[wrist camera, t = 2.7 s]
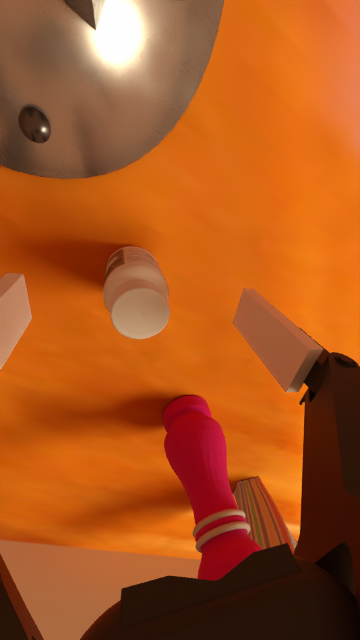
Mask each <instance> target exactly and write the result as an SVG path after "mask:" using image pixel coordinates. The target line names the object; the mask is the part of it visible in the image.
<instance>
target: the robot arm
mask: <svg viewBox="0 0 360 640" xmlns="http://www.w3.org/2000/svg"><path fill="white" fill-rule="evenodd" d="M31 319H32V315H31V310H30V305H29V299H28V294H27V289H26V283H25V278H24V274H16V273H6V274H5V275H4V276H3V277H2V278H1V279H0V370H1V368H2V367H3V365H4V364H5V362H6V360H7V359H8V357H9V355H10V354H11V352H12V350H13V349H14V347H15V346H16V344H17V342H18V341H19V339H20V337H21V336H22V334H23V332H24V331H25V329H26V328H27V326H28V324H29V323H30V321H31ZM233 324H234V325H235V326H236V328H237V329H238V330H239V332H240V333H241V334H242V336H243V337H244V338H245V339H246V341H247V342H248V343H249V345H250V346H251V347H252V349H253V350H254V351H255V353H256V354H257V355H258V356H259V358H260V359H261V360H262V362H263V363H264V364H265V366H266V367H267V368H268V370H269V371H270V372H271V373H272V375H273V376H274V377H275V379H276V380H277V381H278V383H279V384H280V385H281V387H282V388H283V389H284V390H285V392H299V390H300V388H301V387H302V385H303V383H305V384H306V385H307V386H308V389H307V391H306V393H305V394H304V396H303V398H302V399H301V401H300V403H299V404H300V405H302V403H303V402H305V416H304V443H303V471H302V498H301V526H300V536H299V540H298V542H297V545H296V548H295V550H294V554H293V553H292V551H291V549H290V547H289V545H288V543H285V544H281V545H278V546H274V547H270V548H267V549H263V550H259V551H256V552H253V553H251V554H250V555H249V556H248V557H246V558H245V559H244V560H243V561H242V562H240V563H239V564H238V565H237V566H235V567H234V568H233V569H232V570H230V571H229V572H228V573H227V574H225V575H224V576H223V577H222V578H220V579H218V580H204V579H195V578H186V577H177V576H166V577H162V578H159V579H155V580H151V581H148V582H144V583H141V584H137V585H133V586H130V587H127V588H123V589H122V591H121V600H120V601H118V602H117V603H116V604H114V605H113V606H112V607H110V608H109V609H108V610H106V611H105V612H104V613H103V614H102V615H101V616H100V617H99V618H98V619H97V620H96V621H95V622H94V623H93V624H92V625H91V627H90V628H89V629H88V630H87V631H86V632H85V633H84V635H83V636H82V638H81V639H80V640H360V367H359V365H358V364H357V363H356V362H355V361H354V360H353V359H351V358H349V357H348V356H345V355H343V354H340V353H335V352H332V353H329V352H328V351H327V350H326V349H324V348H323V347H322V346H321V345H320V344H318V343H317V342H316V341H315V340H314V339H312V338H311V337H310V336H309V335H307V333H305V332H304V331H303V330H302V329H301V328H299V327H297V326H296V325H295V324H294V323H293V322H291V321H290V320H289V319H288V318H287V317H286V316H284V315H283V314H282V313H281V312H280V311H279V310H277V309H276V308H275V307H274V306H273V305H271V304H270V303H269V302H268V301H267V300H266V299H264V298H263V297H262V296H261V295H260V294H259V293H257V292H256V291H255V290H254V289H243V292H242V295H241V298H240V301H239V305H238V308H237V311H236V314H235V317H234V320H233ZM0 640H44V639H43V637H42V635H41V633H40V631H39V630H38V628H37V626H36V624H35V622H34V620H33V618H32V617H31V615H30V613H29V611H28V609H27V607H26V605H25V603H24V601H23V599H22V597H21V595H20V593H19V591H18V589H17V587H16V585H15V583H14V581H13V579H12V577H11V575H10V573H9V571H8V569H7V567H6V565H5V562H4V560H3V559H2V556H1V554H0Z"/></svg>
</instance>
